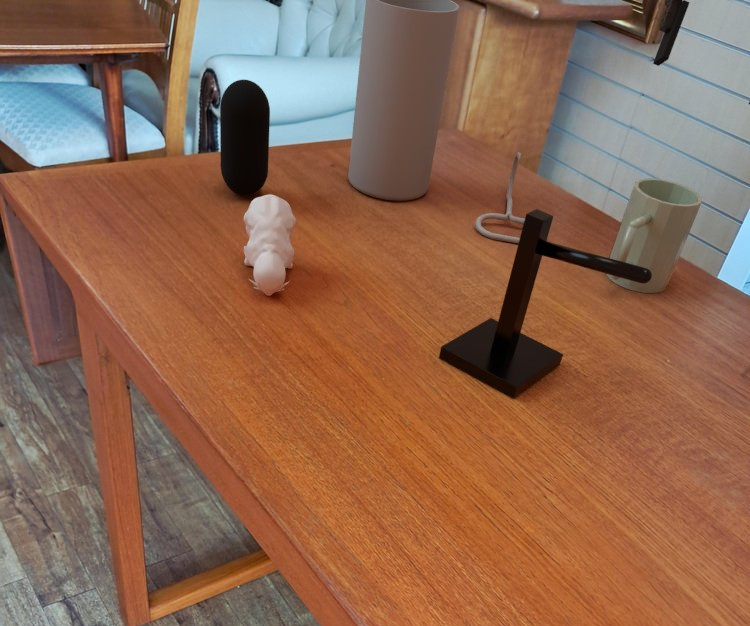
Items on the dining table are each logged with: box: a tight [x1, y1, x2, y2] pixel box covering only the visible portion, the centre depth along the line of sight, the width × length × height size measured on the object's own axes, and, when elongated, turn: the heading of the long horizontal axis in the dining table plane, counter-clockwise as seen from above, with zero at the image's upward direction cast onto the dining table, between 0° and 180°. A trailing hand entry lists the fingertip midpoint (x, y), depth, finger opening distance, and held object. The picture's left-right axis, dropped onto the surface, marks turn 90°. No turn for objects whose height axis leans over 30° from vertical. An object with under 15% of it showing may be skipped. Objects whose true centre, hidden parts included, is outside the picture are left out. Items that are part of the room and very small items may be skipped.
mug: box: [605, 178, 703, 294], centre depth 104 cm, size 13×9×12 cm, turn 140°
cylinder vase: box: [347, 0, 460, 202], centre depth 114 cm, size 12×12×25 cm
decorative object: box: [219, 79, 271, 197], centre depth 108 cm, size 7×7×15 cm
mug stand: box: [438, 208, 652, 399], centre depth 81 cm, size 18×10×17 cm, turn 50°
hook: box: [474, 151, 525, 245], centre depth 118 cm, size 7×9×20 cm
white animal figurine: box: [243, 193, 297, 297], centre depth 93 cm, size 6×8×12 cm
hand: (709, 82), depth 97 cm, fingers open, 13 cm apart
